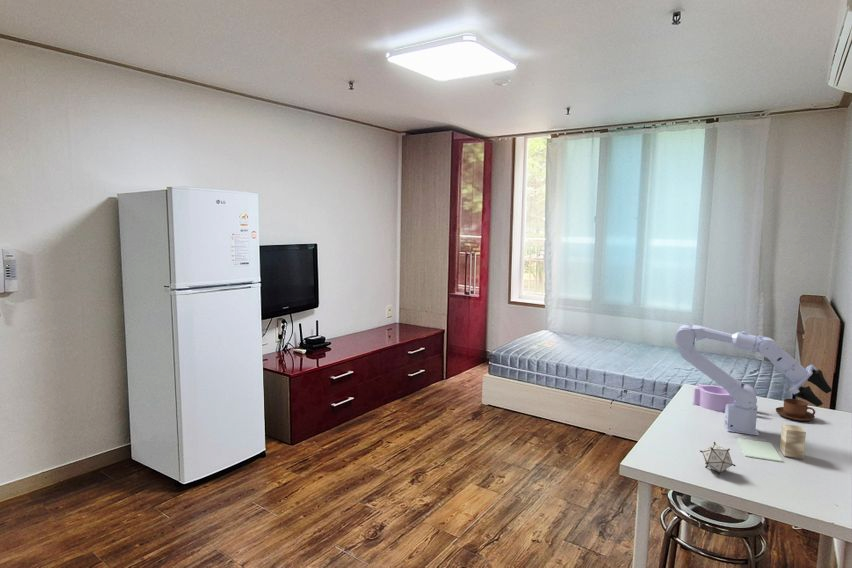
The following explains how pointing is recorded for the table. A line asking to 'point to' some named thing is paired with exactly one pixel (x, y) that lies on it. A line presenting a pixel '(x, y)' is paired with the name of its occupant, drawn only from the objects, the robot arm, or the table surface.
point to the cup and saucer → (795, 410)
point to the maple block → (792, 441)
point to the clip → (712, 397)
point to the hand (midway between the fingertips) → (824, 398)
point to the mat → (758, 450)
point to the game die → (717, 458)
